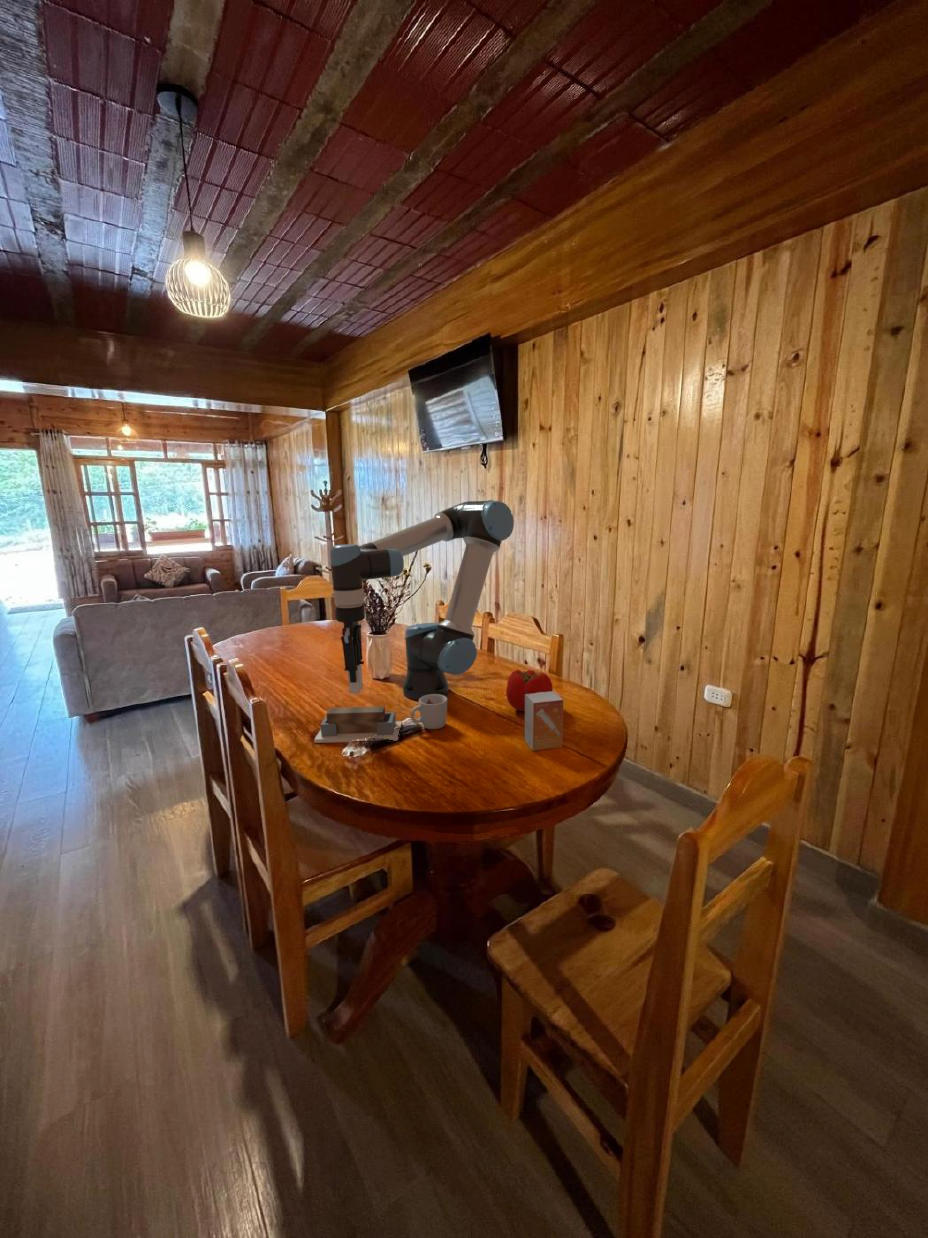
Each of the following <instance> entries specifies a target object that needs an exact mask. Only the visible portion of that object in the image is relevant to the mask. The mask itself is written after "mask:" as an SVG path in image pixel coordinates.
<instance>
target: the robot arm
mask: <svg viewBox="0 0 928 1238" xmlns="http://www.w3.org/2000/svg"><path fill="white" fill-rule="evenodd" d="M514 525H515V520H514V516H513V513H512V511H511V509H510V507H509V506H508V505H507V504H506V503H505V502H503V501H502V500H493V499H490V500H480V501H479V500H477V501H475V500H473V501H472V500H470V501H464V502H461V503H458V504H456V505H452V506H451V507H448V508H446V509H444V510H442V511H438V512H436V513H435V514H434V516H433V517H432V518H429V519H426V520H425V521H422V522H419V523H416V524H414V525H410V526H409V527H405V528H403V529H401V530H398V531H396V532H393V533H390V534H387V535H384V536H383V537H380V538H377V539H375V540H372V541H369V542H367V543H364V544H362V545H361V544H360V545H359V544H356V543H354V544H353V543H352V544H337V545H333V546H331V548H330V552H329V558H330V559H329V560H330V563H329V564H330V569H331V579H332V591H333V592H332V593H331V597H333V599H334V600H333V602H334V605H335V607H334V616H335V621H336V622H338V623H342V624H343V628H341V629H342V630H341V631H342V632H341V633H342V635H341V636H340V640H341V644H342V650H343V660H344V667H345V668H344V669H343V670H344V672H347V676H348V688H349V695H350V694H361V690H363V689H364V686H363V674H362V673H363V672H362V671H363V670H362V665H365V661H364V660H363V646H362V625H361V624H360V623H359V622H361V621H363V620H365V618H366V610H365V605H364V603H365V595H364V584H363V583H364V582H363V581H369V580H375V579H384V578H392V577H397V576H400V575H402V573H403V571H404V568H405V564H404V562H405V560H404V557H406V556H408V555H410V554H413V553H415V552H418V551H420V550H422V549H425V548H428V547H430V546H432V545H435V544H437V543H439V542H442V541H443V542H445V543H446V542H450V541H453V540H456V539H457V540H458V539H462V540H463V542H464V543H465V549H464V552H463V556H462V558H461V562H460V565H459V568H458V573H457V576H456V579H455V581H454V586H453V590H452V594H451V597H450V600H449V603H448V607H447V611H446V614H445V618H444V619H443V620H442V621H441V622H422V623H418V624H416V623H415V624H413V625H410V626H407V627H406V629H405V635H404V640H405V652H406V653H405V654H406V655H405V656H406V668H407V671H406V675H405V679H404V683H403V686H402V693H403V696H404V697H406V698H408V699H411V700H416V701H419V699H420V698H421V697H423V696H425V695H430V694H439V695H443V696H446V695H447V694H448V693H449V691H450V689H449V682H448V679H447V677H446V674H450V675H453V676H454V675H455V676H459V675H463V674H464V673H466V672H467V671H469V670H470V669H471V668H472V666H473V665H474V664H475V662H476V659H477V655H478V650H477V647H476V643H475V642H474V637H475V633H474V631H473V628H472V627H473V623H474V620H475V616H476V613H477V611H478V606H479V602H480V599H481V595H482V592H483V589H484V585H485V582H486V580H487V579H486V578H487V575H488V571H489V568H490V565H491V564H490V563H491V560H492V558H493V554H494V553H495V552H497V551H499V550H500V549H501V544H502V541H505V540H507V539H508V538H509V537H511V535H512V533H513V531H514ZM362 660H363V661H362Z"/></svg>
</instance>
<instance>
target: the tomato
mask: <svg viewBox="0 0 928 1238" xmlns="http://www.w3.org/2000/svg"><path fill="white" fill-rule="evenodd" d="M552 683H553V682H552V681H551V678H550V677H549V675H548V674H547V673H545V672H539V671H538V672H535V670H530V669H528V670H527V671H526V670H522V671H521V670H520V669H516V670H514V671H512V672H511V673H510V675H509V676H508V679H507V684H506V690H505V691H506V693H505V696H506V699H507V701H508V704H509V705H510V706H511V707H512V708H513V709H515V710H517V711H519V712H525V694H533V693H539V692H551V691H554V690H553V688H554V687H553V684H552Z"/></svg>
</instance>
